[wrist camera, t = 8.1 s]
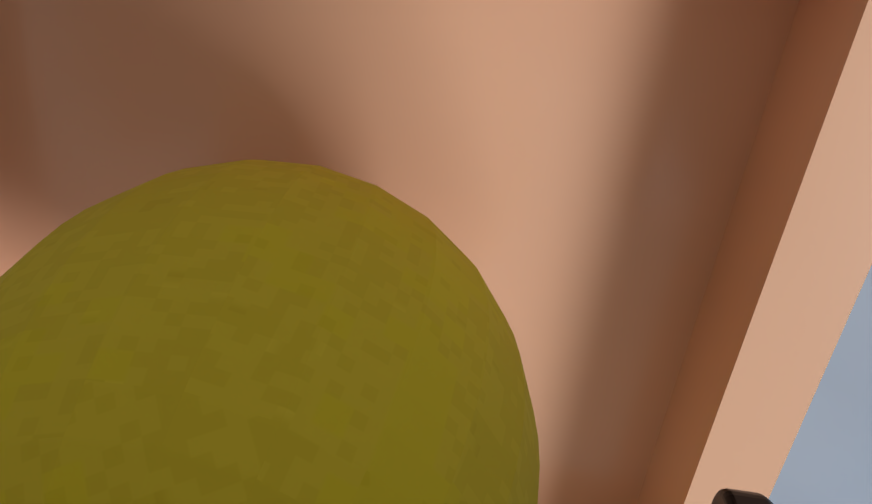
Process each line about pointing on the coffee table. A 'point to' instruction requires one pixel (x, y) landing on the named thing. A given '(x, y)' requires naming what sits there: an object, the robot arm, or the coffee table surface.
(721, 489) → the robot arm
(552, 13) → the dish
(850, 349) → the coffee table surface
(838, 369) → the coffee table surface
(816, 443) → the coffee table surface
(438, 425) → the lemon
